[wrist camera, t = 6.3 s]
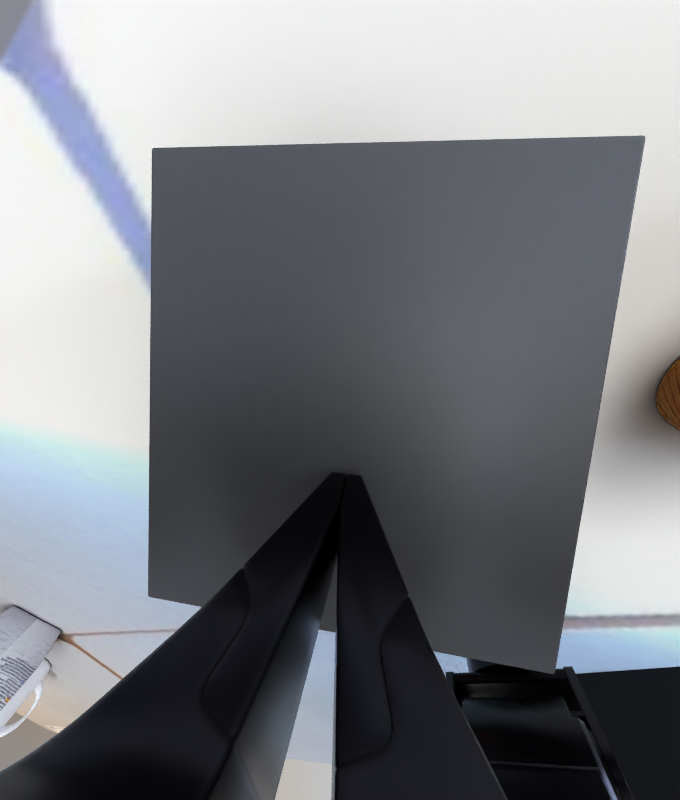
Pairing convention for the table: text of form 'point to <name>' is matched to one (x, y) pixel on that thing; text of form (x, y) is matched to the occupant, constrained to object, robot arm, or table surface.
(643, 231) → the table surface
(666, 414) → the disposable coffee cup
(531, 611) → the lid
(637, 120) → the table surface
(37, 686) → the mug
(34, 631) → the juice carton
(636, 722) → the coffee maker
